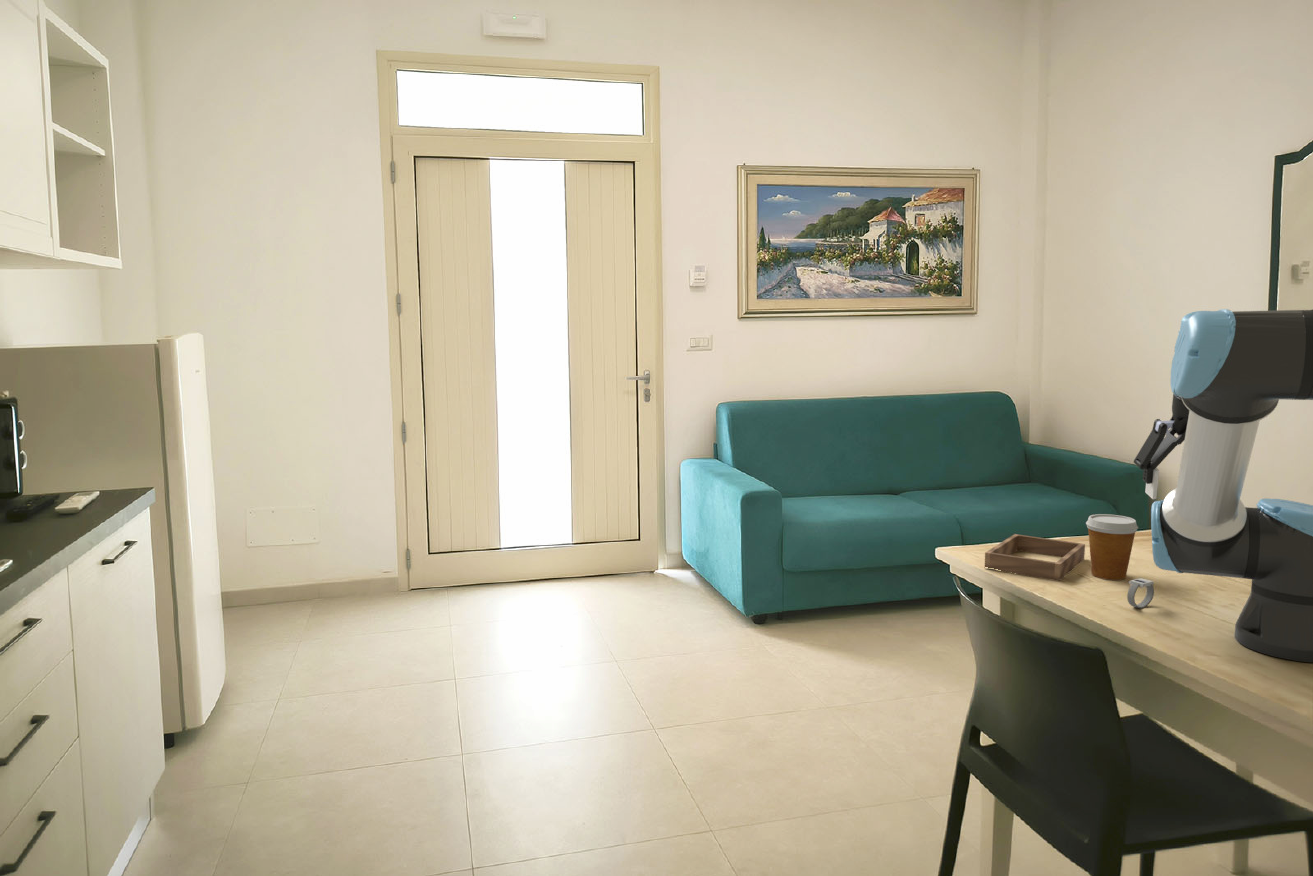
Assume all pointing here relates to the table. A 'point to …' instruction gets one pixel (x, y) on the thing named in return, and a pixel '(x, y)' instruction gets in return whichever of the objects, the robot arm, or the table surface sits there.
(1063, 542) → the rectangular wooden frame
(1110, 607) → the table surface
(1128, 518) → the disposable coffee cup
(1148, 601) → the wristwatch
